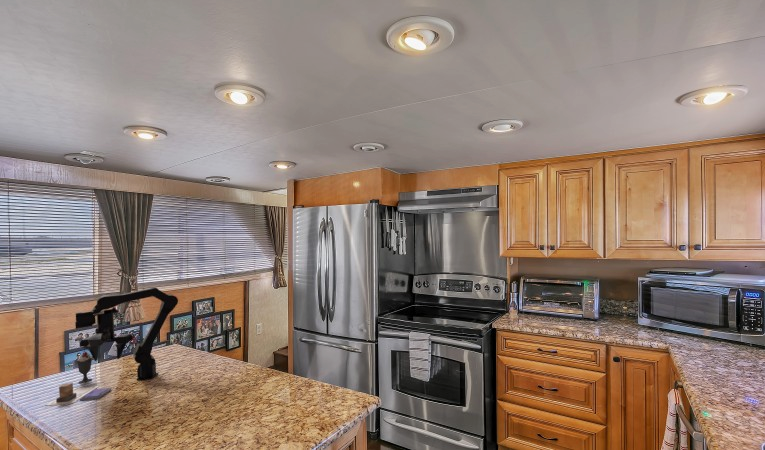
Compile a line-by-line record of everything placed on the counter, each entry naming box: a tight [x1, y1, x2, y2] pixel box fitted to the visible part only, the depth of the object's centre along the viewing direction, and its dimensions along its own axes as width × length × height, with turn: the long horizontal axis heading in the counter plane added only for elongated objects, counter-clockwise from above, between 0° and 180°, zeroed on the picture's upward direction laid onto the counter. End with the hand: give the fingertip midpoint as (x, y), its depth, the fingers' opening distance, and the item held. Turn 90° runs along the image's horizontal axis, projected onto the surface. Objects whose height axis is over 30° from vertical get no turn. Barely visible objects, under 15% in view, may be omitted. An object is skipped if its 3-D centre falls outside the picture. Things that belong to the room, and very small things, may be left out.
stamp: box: [56, 382, 76, 403], centre depth 148 cm, size 4×4×6 cm
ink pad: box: [79, 387, 112, 401], centre depth 151 cm, size 7×8×1 cm
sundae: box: [74, 349, 94, 384], centre depth 167 cm, size 7×7×15 cm
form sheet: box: [44, 385, 100, 407], centre depth 152 cm, size 10×16×1 cm, turn 6°
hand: (107, 359), depth 159 cm, fingers open, 9 cm apart
